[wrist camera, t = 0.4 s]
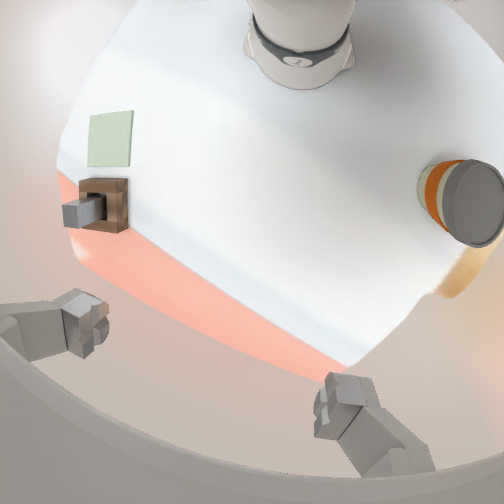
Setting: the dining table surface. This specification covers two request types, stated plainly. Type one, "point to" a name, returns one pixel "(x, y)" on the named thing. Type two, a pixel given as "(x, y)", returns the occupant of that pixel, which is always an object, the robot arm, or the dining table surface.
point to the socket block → (108, 203)
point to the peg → (85, 210)
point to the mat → (110, 139)
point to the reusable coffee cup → (464, 200)
